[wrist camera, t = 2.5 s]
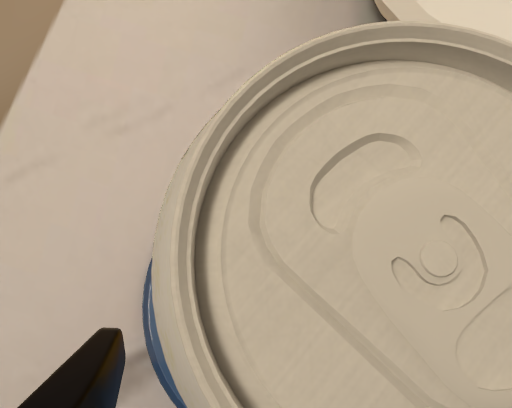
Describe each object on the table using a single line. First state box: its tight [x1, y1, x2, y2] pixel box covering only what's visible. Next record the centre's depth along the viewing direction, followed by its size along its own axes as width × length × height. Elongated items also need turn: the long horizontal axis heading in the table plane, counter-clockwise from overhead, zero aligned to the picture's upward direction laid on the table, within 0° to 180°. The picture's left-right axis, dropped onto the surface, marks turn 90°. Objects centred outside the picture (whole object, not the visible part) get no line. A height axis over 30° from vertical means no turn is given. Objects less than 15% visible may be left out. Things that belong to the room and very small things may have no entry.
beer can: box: [151, 21, 512, 408], centre depth 12 cm, size 6×6×15 cm
